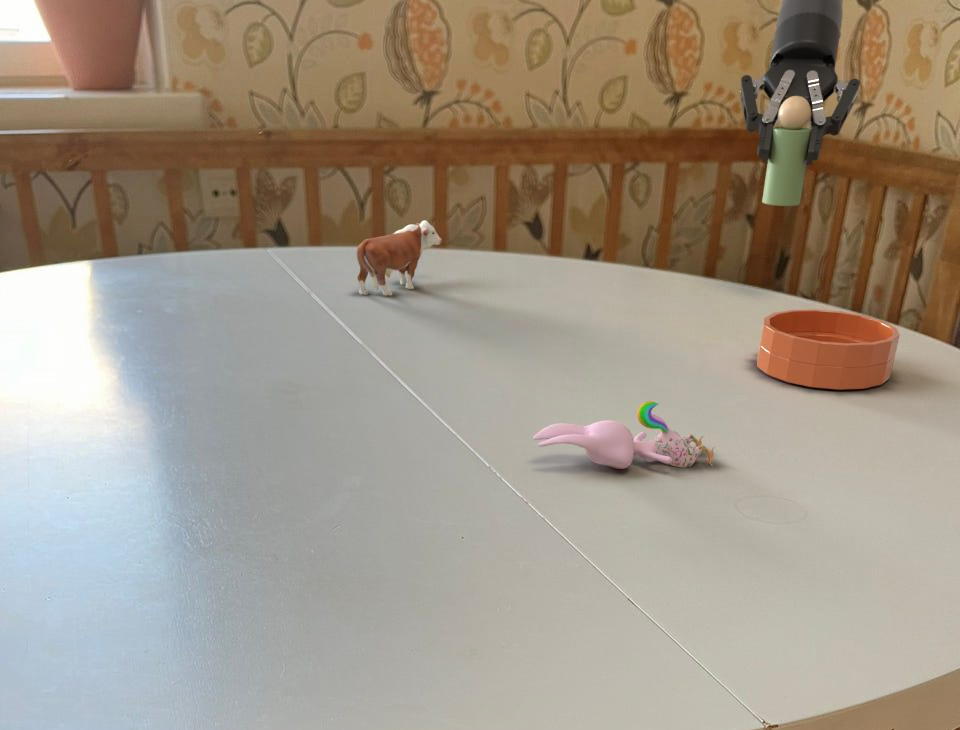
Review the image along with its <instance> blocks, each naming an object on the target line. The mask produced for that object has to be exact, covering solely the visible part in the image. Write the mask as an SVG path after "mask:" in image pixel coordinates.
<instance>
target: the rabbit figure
mask: <svg viewBox="0 0 960 730" xmlns="http://www.w3.org/2000/svg"><path fill="white" fill-rule="evenodd" d="M658 405H660V403H657V402H656V401H653V400H651V401H650V400H649V401H646V402H644V403H642V404H640V406H639V407H638V409H637V411H636V417H637V421H638V422H639V424H641V426H643V427H644V428H646V429H647V428H648V429H650V430H651V429H652V430H657V429H658V430H661V431H660V433H658V434H657V436H656V437H655V438H653V439H651V440H650V439H649V440H643V439H645V438H647V432H645V431H640V432H639V433H638V434H637V435H636V436H635V437H634V436H633V434H632V432H631V430H630V429H629V428H628V427H627V426H626V425H625V424H623V423H622V422H619V421H615V420H608V419H607V420H605V419H604V420H600V421H596V422H593V423H591V424H588V425H579V424H575V423H567V422H561V423H560V422H559V423H552V424H550V425H547V426H546V427H544V428H542V429H541V430H539V431H538V432H536V434H534V436H533V437H532V440H533V441H539V440H543V441H541V442H539V443H537V446H538V447H539V448H540V447H549V446H553V445H559V444H560V445H561V444H565V445H573V446H577V447H580V448H583V449H584V452H585V454H586V456H587V458H589V460H590V461H592V463H594V464H596V465H604V466H606V467H608V468H612V469H616V470H620V469H621V470H623V469H627V468H628V467H630V465H631V464H632V462H633V459H634V456H636V457H639V458H640V459H641V460H643V461H644V462H647V463H653V462H655V461H657V462H660V463H662V464H664V465H666V466H671V467H674V468H680V469H681V468H683V469H684V468H690V467H692V466H693V465H694V463H695V462H696V460H697V459H698V457H699V456H700V455H702V452H704V453H706V455H707V457H706V460H705V461H706V465H707V466H708V465H709V466H713V464H712V463H713V460H714V459H713V458H714V449H715V448H716V446H713V447H712V448H711V449H708V448H707V447H706V445H704V444H703V442H702V439H703V438H704V435H701V436H700V438H699V439H697V438H696V436H694V435H693V434H691V433H690V434H688V435H686V436H681V435H680V434H679V432H677V431H675V430H673V429H671V428H670V427H669V425H668V424H667V422H666V421H665V419H663V418H662V417H661V416H659V415H655V414H653V413H652V411H653V409H654V408H655V407H657V406H658ZM692 442H693V443H695V446H692V445H691V443H692Z"/></svg>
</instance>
